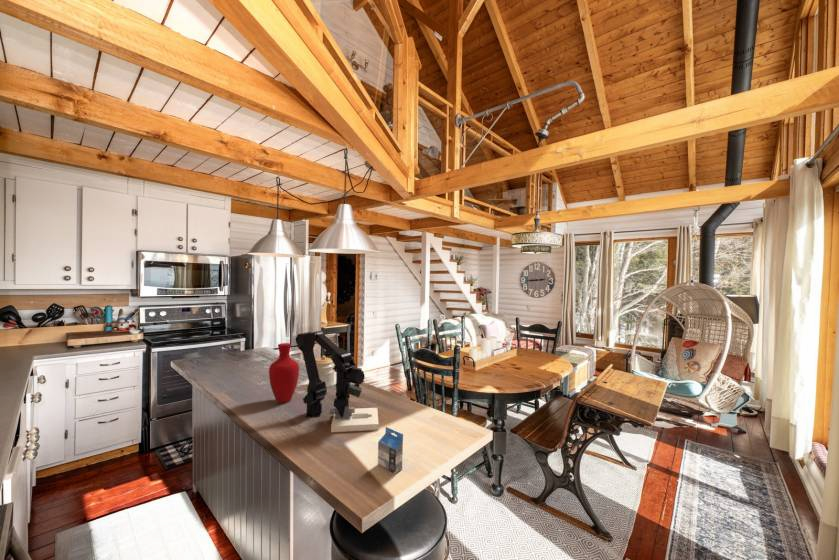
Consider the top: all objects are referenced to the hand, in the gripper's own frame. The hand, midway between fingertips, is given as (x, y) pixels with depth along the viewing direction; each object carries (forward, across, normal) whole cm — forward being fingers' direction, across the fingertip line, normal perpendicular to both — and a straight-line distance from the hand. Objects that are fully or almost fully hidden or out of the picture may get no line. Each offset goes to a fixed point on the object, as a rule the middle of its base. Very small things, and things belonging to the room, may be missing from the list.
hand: (342, 414), depth 154 cm
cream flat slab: (+4, 0, -6) cm, 7 cm away
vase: (+4, +30, +32) cm, 44 cm away
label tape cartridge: (+4, -38, -19) cm, 43 cm away
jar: (+4, +55, +15) cm, 57 cm away
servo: (+1, 0, 0) cm, 1 cm away
